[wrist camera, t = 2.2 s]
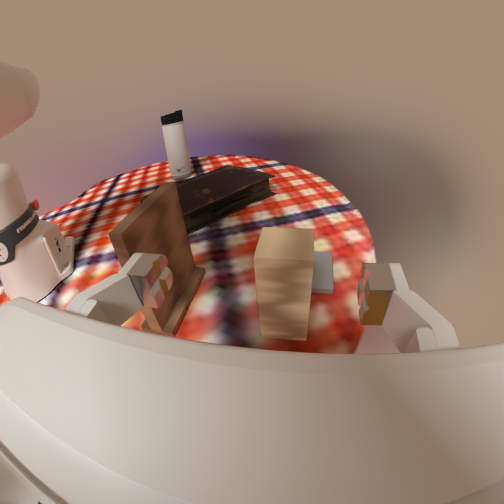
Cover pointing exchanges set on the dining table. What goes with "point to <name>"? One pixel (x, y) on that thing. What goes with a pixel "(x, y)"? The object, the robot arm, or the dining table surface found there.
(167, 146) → the travel mug
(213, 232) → the dining table surface
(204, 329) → the dining table surface
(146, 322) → the screen
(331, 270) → the slate coaster
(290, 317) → the tan boxy piece
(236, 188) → the diary
